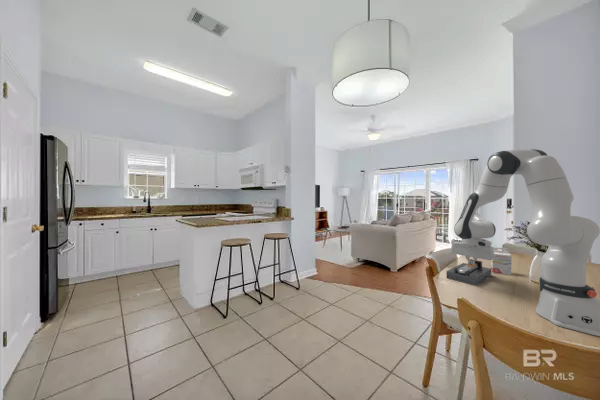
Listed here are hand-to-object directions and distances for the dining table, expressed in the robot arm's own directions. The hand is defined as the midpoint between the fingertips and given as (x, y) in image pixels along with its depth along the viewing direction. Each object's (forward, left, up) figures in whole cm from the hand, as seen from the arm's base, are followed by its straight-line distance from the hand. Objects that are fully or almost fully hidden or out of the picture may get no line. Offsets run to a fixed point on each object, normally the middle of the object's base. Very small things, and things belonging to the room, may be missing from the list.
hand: (471, 264), depth 130 cm
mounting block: (0, +4, -7) cm, 8 cm away
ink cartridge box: (-9, -18, -7) cm, 22 cm away
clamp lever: (0, +5, -2) cm, 6 cm away
